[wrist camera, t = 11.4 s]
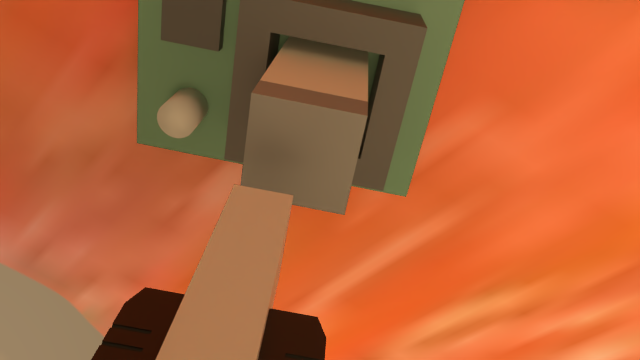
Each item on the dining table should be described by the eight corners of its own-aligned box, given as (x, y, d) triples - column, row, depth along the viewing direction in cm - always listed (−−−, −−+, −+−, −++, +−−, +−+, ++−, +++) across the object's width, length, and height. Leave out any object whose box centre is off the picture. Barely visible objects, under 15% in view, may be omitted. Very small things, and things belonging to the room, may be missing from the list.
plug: (280, 106, 28) (239, 194, 19) (291, 32, 26) (251, 92, 17) (352, 120, 28) (344, 215, 19) (368, 48, 26) (367, 116, 17)
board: (145, 135, 31) (110, 169, 27) (149, -86, 25) (105, -86, 21) (404, 187, 31) (410, 229, 27) (466, -22, 25) (485, -10, 21)
